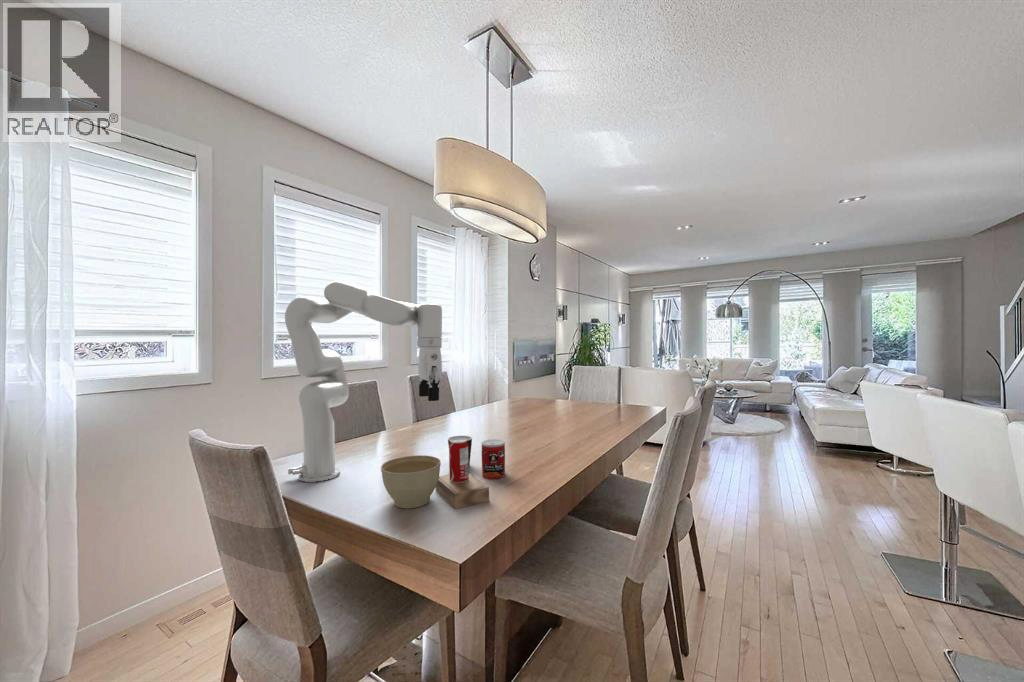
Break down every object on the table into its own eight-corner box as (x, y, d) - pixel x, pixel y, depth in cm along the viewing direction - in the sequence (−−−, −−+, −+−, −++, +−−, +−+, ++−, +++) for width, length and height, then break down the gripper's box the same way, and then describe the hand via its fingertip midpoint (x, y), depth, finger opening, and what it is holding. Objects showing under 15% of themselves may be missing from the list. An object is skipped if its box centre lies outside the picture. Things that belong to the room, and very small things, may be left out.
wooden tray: (455, 509, 110) (455, 493, 110) (435, 490, 124) (435, 476, 124) (489, 501, 115) (488, 486, 115) (466, 484, 129) (466, 470, 129)
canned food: (481, 479, 132) (481, 445, 132) (482, 471, 140) (482, 439, 140) (505, 479, 133) (504, 444, 133) (505, 471, 141) (504, 438, 141)
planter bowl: (397, 490, 124) (396, 454, 124) (448, 492, 122) (448, 455, 122) (370, 512, 108) (369, 471, 108) (429, 516, 106) (428, 473, 106)
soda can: (450, 477, 123) (449, 437, 122) (468, 476, 123) (467, 436, 123) (449, 484, 117) (448, 442, 117) (468, 483, 118) (468, 441, 118)
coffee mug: (471, 470, 142) (470, 441, 142) (446, 470, 142) (445, 441, 142) (474, 460, 154) (474, 433, 154) (451, 460, 154) (451, 433, 154)
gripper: (450, 344, 122) (449, 401, 123) (432, 342, 138) (431, 394, 138) (425, 344, 119) (424, 403, 119) (410, 342, 134) (409, 395, 134)
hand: (428, 398), depth 128 cm, fingers open, 9 cm apart
